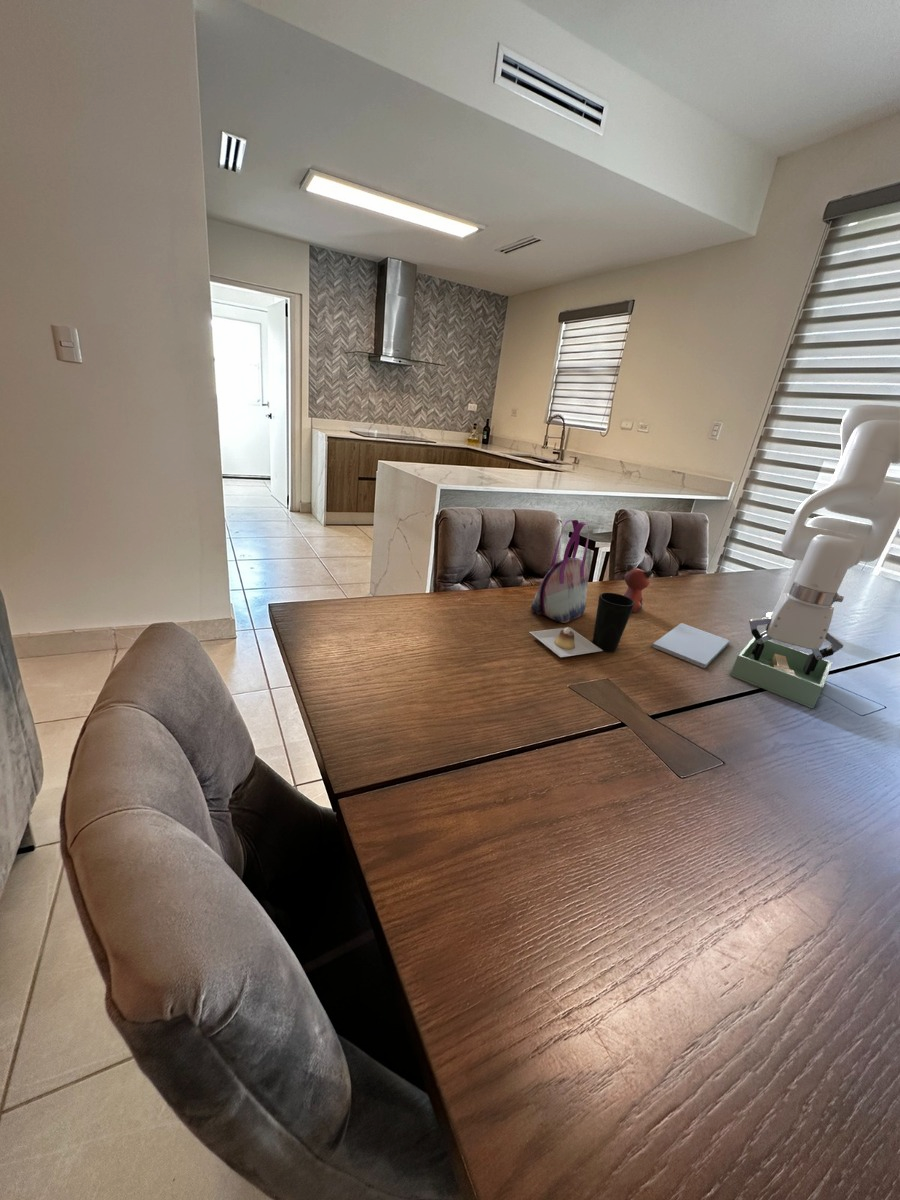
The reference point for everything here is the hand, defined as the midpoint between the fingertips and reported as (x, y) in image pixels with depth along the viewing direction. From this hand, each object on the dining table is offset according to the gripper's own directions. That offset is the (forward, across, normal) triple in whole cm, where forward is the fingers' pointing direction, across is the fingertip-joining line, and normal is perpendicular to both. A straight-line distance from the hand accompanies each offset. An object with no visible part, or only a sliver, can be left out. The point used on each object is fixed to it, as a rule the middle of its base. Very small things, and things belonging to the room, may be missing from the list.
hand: (780, 665), depth 105 cm
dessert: (+3, +44, +19) cm, 48 cm away
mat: (+3, +18, -3) cm, 18 cm away
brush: (+2, 0, +2) cm, 3 cm away
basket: (+3, 0, +2) cm, 3 cm away
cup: (+3, +36, +13) cm, 38 cm away
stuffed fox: (+3, +36, -16) cm, 39 cm away
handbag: (+3, +51, +2) cm, 51 cm away
